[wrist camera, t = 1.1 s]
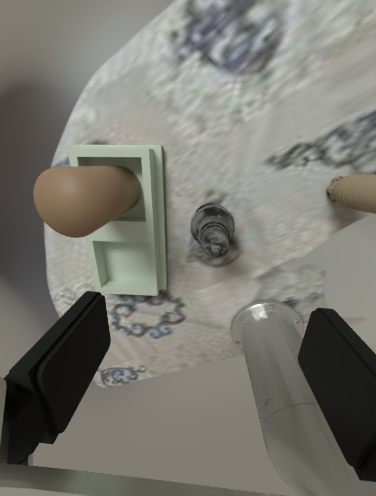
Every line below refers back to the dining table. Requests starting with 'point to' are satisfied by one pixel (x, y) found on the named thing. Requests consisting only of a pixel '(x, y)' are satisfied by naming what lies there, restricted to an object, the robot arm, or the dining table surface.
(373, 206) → the handle
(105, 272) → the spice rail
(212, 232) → the salt shaker
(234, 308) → the dining table surface
